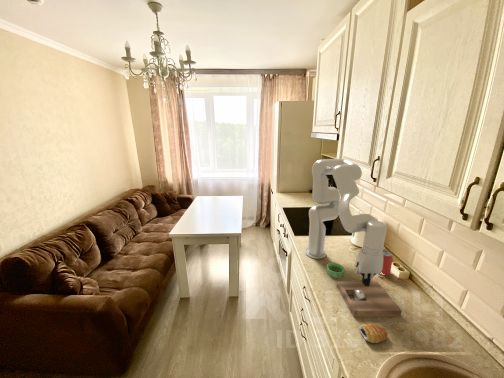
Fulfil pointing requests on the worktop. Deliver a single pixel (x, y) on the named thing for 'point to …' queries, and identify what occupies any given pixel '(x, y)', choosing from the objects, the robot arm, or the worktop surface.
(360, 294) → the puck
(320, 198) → the robot arm
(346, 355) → the worktop surface
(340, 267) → the ramekin
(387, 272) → the beer can
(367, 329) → the pastry
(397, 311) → the wooden board with recess
